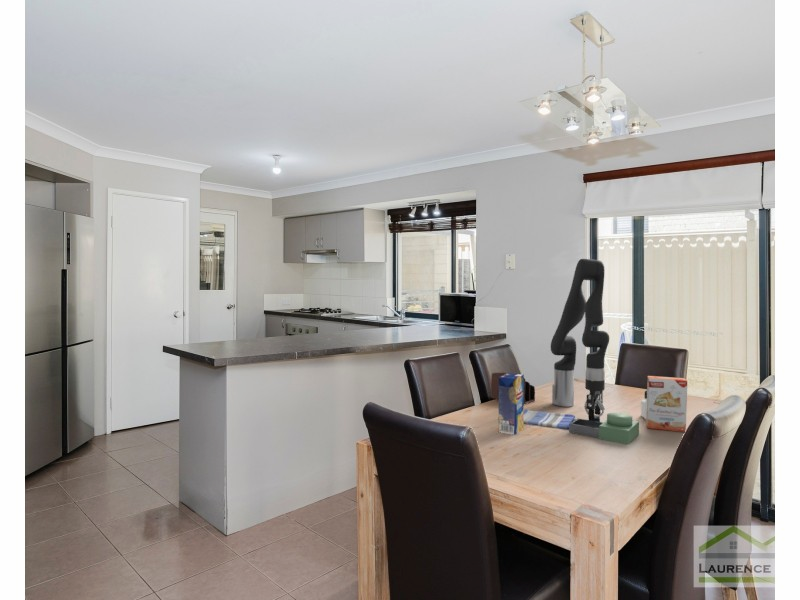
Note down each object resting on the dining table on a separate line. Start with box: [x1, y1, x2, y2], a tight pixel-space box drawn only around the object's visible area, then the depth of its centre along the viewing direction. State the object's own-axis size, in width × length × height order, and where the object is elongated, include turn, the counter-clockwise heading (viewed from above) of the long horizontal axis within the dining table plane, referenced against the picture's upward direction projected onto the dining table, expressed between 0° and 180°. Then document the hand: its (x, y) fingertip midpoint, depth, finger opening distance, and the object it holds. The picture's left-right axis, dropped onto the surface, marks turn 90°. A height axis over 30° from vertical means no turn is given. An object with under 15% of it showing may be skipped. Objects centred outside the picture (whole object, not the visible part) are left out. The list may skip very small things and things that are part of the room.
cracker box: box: [645, 375, 688, 433], centre depth 206 cm, size 14×6×21 cm, turn 69°
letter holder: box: [490, 372, 536, 405], centre depth 256 cm, size 10×20×14 cm, turn 44°
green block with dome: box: [598, 412, 640, 445], centre depth 196 cm, size 11×16×8 cm
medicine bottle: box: [640, 390, 647, 421], centre depth 222 cm, size 7×7×12 cm
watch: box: [583, 399, 606, 422], centre depth 213 cm, size 6×8×11 cm
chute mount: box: [568, 417, 605, 439], centre depth 201 cm, size 12×10×4 cm
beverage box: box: [497, 372, 525, 436], centre depth 204 cm, size 7×11×22 cm, turn 150°
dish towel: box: [523, 408, 577, 430], centre depth 218 cm, size 17×24×3 cm
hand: (594, 416), depth 213 cm, fingers open, 8 cm apart
